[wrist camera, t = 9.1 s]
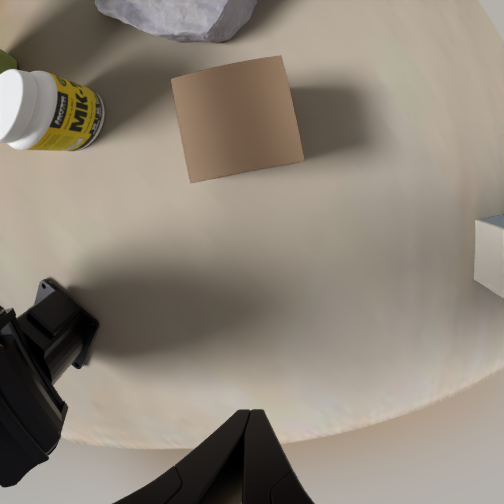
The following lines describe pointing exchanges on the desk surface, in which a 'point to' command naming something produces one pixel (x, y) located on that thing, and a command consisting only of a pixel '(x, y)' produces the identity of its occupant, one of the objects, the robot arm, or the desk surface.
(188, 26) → the stone block
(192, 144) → the walnut block
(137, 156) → the desk surface
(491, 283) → the slate block
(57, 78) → the supplement bottle
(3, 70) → the plant pot
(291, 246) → the desk surface
